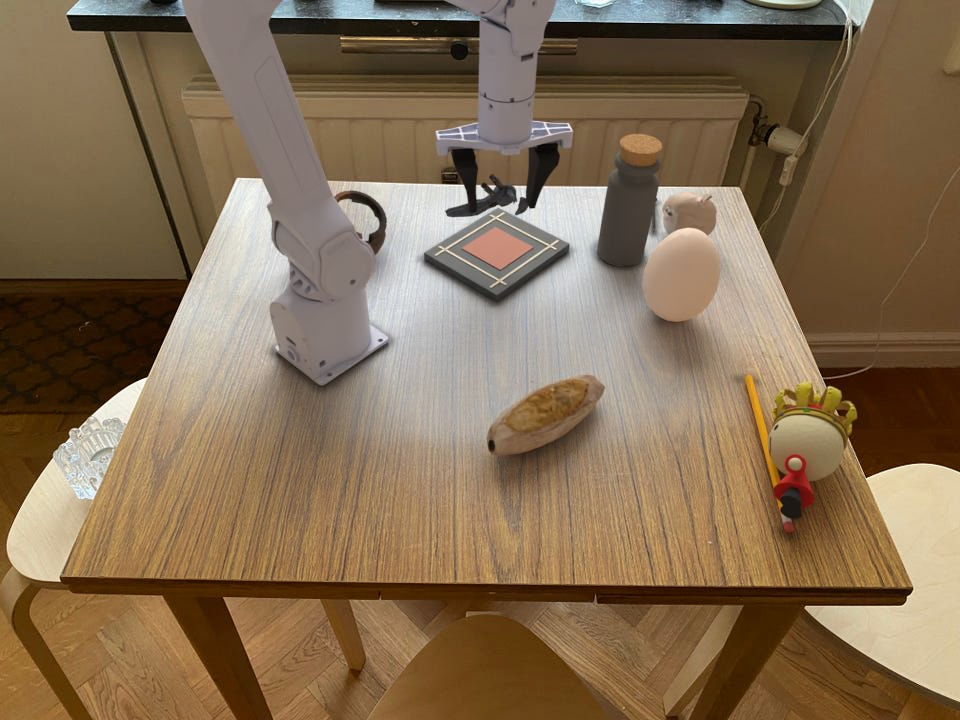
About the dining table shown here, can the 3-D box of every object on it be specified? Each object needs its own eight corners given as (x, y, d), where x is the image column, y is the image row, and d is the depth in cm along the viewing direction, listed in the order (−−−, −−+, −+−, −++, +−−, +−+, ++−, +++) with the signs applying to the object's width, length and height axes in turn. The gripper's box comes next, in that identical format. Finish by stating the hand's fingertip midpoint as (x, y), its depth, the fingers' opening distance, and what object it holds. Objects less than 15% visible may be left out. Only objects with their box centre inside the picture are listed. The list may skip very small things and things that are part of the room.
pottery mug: (349, 218, 94) (372, 178, 88) (381, 277, 92) (407, 240, 86) (266, 231, 87) (285, 187, 81) (299, 294, 85) (321, 255, 79)
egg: (701, 345, 78) (729, 262, 70) (629, 329, 79) (649, 245, 71) (709, 301, 83) (736, 219, 75) (641, 286, 85) (660, 204, 77)
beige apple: (658, 246, 90) (671, 192, 85) (657, 219, 95) (670, 165, 89) (710, 252, 90) (727, 197, 84) (707, 224, 94) (723, 170, 88)
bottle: (652, 261, 88) (678, 151, 78) (610, 271, 87) (631, 160, 76) (628, 235, 92) (650, 127, 82) (588, 244, 91) (605, 135, 80)
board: (496, 302, 82) (497, 294, 81) (423, 259, 88) (423, 251, 87) (569, 250, 90) (570, 243, 89) (497, 213, 95) (498, 206, 94)
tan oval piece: (616, 412, 70) (623, 382, 67) (503, 480, 64) (504, 450, 61) (581, 381, 73) (586, 351, 70) (470, 443, 67) (470, 413, 64)
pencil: (783, 532, 61) (785, 527, 60) (743, 379, 74) (745, 374, 73) (792, 532, 61) (795, 528, 60) (751, 379, 74) (753, 375, 73)
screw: (654, 202, 98) (648, 199, 98) (658, 197, 98) (652, 193, 97) (654, 235, 93) (648, 232, 93) (659, 230, 92) (652, 227, 92)
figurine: (442, 202, 75) (456, 248, 77) (528, 174, 75) (540, 221, 77) (435, 185, 86) (447, 225, 88) (510, 161, 86) (521, 202, 88)
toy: (747, 523, 63) (778, 406, 72) (837, 544, 60) (857, 418, 69) (748, 472, 59) (780, 354, 68) (845, 491, 55) (865, 364, 64)
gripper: (440, 112, 68) (442, 230, 78) (586, 104, 70) (571, 220, 79) (432, 81, 73) (435, 196, 82) (568, 74, 75) (556, 187, 84)
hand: (501, 206), depth 81 cm, fingers closed on figurine, 6 cm apart
